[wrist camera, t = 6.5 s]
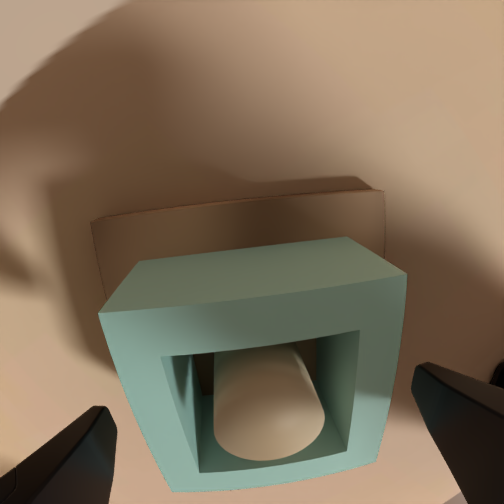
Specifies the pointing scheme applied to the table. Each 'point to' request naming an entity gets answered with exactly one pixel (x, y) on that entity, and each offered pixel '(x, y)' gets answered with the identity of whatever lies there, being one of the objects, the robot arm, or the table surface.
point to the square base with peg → (257, 358)
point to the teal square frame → (256, 335)
